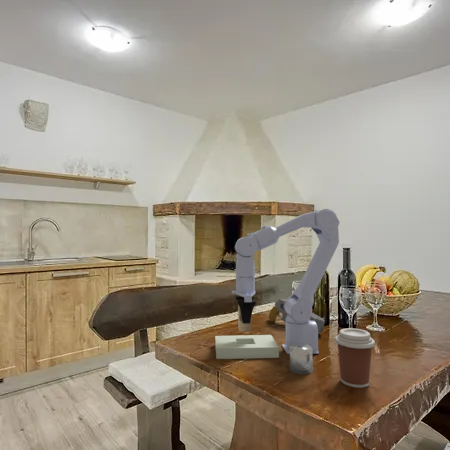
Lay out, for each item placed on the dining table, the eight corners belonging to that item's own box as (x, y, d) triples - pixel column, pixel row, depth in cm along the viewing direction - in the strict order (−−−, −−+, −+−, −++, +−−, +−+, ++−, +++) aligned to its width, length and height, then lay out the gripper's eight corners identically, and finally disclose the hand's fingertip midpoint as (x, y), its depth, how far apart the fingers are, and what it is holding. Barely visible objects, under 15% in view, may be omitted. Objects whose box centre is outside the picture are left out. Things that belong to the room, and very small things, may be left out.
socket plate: (271, 344, 114) (271, 334, 114) (278, 357, 102) (278, 347, 102) (215, 345, 113) (215, 335, 113) (216, 359, 101) (216, 348, 101)
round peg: (308, 365, 96) (308, 343, 96) (315, 374, 90) (315, 350, 90) (287, 366, 96) (287, 343, 96) (292, 374, 90) (292, 351, 90)
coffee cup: (353, 371, 92) (353, 325, 92) (383, 385, 84) (383, 334, 84) (327, 378, 87) (326, 329, 87) (356, 393, 79) (356, 340, 79)
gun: (309, 358, 125) (321, 322, 121) (265, 318, 144) (274, 286, 140) (315, 356, 127) (327, 320, 123) (271, 317, 146) (280, 285, 141)
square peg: (250, 327, 109) (250, 305, 109) (252, 331, 105) (252, 307, 105) (238, 327, 109) (238, 305, 109) (239, 331, 105) (239, 307, 105)
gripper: (230, 273, 114) (230, 315, 114) (234, 280, 100) (234, 328, 100) (252, 273, 115) (252, 315, 115) (258, 279, 100) (259, 327, 100)
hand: (245, 321), depth 107 cm, fingers closed on square peg, 4 cm apart
